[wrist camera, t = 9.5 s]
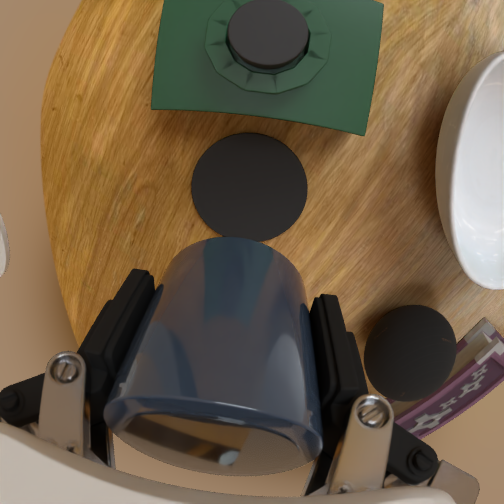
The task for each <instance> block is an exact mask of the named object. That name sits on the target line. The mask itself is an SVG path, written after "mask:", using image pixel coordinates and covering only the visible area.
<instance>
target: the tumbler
mask: <svg viewBox="0 0 504 504" xmlns="http://www.w3.org/2000/svg"><path fill="white" fill-rule="evenodd" d="M103 418H104V421H105V423H106V424H107V426H108V427H109V428H110V430H111V431H112V432H113V433H114V434H115V435H116V436H117V437H119V438H120V439H121V440H122V441H124V442H125V443H127V444H128V445H130V446H131V447H133V448H135V449H136V450H138V451H140V452H141V453H144V454H146V455H148V456H150V457H152V458H154V459H157V460H159V461H162V462H164V463H167V464H170V465H173V466H177V467H180V468H184V469H188V470H192V471H197V472H202V473H208V474H215V475H226V476H259V475H269V474H275V473H280V472H285V471H289V470H292V469H295V468H298V467H301V466H303V465H306V464H307V463H309V462H311V461H313V460H314V459H315V458H317V457H318V456H319V455H320V453H321V452H322V450H323V447H324V437H323V426H322V415H321V405H320V395H319V386H318V377H317V369H316V360H315V352H314V345H313V337H312V330H311V323H310V315H309V309H308V302H307V295H306V289H305V285H304V282H303V280H302V278H301V275H300V273H299V272H298V271H297V269H296V268H295V266H294V265H293V264H292V263H291V262H290V261H289V260H288V259H287V258H286V257H285V256H283V255H282V254H281V253H279V252H278V251H276V250H275V249H273V248H271V247H269V246H267V245H265V244H263V243H260V242H257V241H254V240H250V239H245V238H240V237H216V238H210V239H206V240H202V241H199V242H196V243H194V244H192V245H190V246H188V247H186V248H185V249H183V250H182V251H180V252H179V253H178V254H177V255H176V256H175V257H174V258H173V259H172V261H171V262H170V263H169V265H168V267H167V268H166V270H165V272H164V274H163V276H162V278H161V280H160V282H159V284H158V286H157V288H156V290H155V292H154V294H153V296H152V298H151V300H150V302H149V304H148V306H147V309H146V311H145V313H144V315H143V317H142V319H141V321H140V323H139V325H138V328H137V330H136V332H135V334H134V336H133V339H132V341H131V343H130V345H129V347H128V350H127V352H126V354H125V357H124V359H123V361H122V364H121V366H120V368H119V371H118V373H117V375H116V378H115V380H114V383H113V385H112V387H111V390H110V392H109V395H108V397H107V400H106V402H105V405H104V408H103Z"/></svg>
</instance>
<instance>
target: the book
mask: <svg viewBox="0 0 504 504" xmlns="http://www.w3.org/2000/svg"><path fill="white" fill-rule="evenodd" d="M456 346H457V352H456V359H455V363H454V366H453V369H452V371H451V373H450V375H449V377H448V378H447V380H446V381H445V382H444V384H443V385H442V386H441V387H440V388H439V389H438V390H436V391H435V392H434V393H432V394H431V395H429V396H427V397H425V398H423V399H420V400H417V401H411V402H400V401H395V400H392V399H389V398H387V399H386V400H387V401H388V402H389V403H390V405H391V406H392V409H393V411H394V422H395V423H397V424H398V425H400V426H401V427H403V428H404V429H405V430H407V431H408V432H410V433H411V434H413V435H414V436H415V437H417V438H418V439H422V438H424V437H425V436H427V435H429V434H431V433H432V432H434V431H435V430H437V429H439V428H440V427H442V426H444V425H445V424H447V423H448V422H450V421H451V420H453V419H454V418H456V417H457V416H459V415H460V414H461V413H463V412H464V411H466V410H467V409H468V408H470V407H471V406H473V405H474V404H475V403H477V402H478V401H479V400H480V399H482V398H483V397H484V396H486V395H487V394H488V393H489V392H491V391H492V390H493V389H494V388H495V387H497V386H498V385H499V384H500V383H501V382H502V381H504V338H503V337H502V336H501V335H500V334H499V333H498V332H497V331H496V330H495V328H494V327H493V326H492V325H491V324H490V323H489V321H488V320H487V319H486V318H485V317H484V318H483V319H482V320H481V321H480V322H479V323H478V324H477V325H476V326H475V327H474V328H473V329H472V330H471V331H470V332H469V333H468V334H467V335H466V336H464V338H463V339H462V340H461V341H460V342H459V343H458V344H457V345H456Z"/></svg>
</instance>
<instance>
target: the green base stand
mask: <svg viewBox="0 0 504 504" xmlns="http://www.w3.org/2000/svg"><path fill="white" fill-rule="evenodd" d="M250 1H253V0H164V4H163V9H162V15H161V21H160V27H159V34H158V41H157V49H156V57H155V66H154V75H153V87H152V99H151V110H185V111H205V112H219V113H231V114H241V115H250V116H258V117H266V118H273V119H280V120H286V121H293V122H299V123H304V124H310V125H315V126H320V127H325V128H330V129H334V130H339V131H343V132H348V133H352V134H356V135H360V136H365V132H366V127H367V122H368V117H369V112H370V106H371V101H372V95H373V89H374V83H375V76H376V70H377V63H378V55H379V48H380V39H381V30H382V20H383V9H384V4H382V3H379V2H376V1H373V0H282V1H285V2H287V3H289V4H291V5H292V6H294V7H295V8H296V9H298V10H299V11H300V13H301V14H302V15H303V17H304V18H305V20H306V22H307V25H308V31H309V34H308V41H307V43H306V46H305V48H304V49H303V51H302V52H301V53H300V54H299V56H298V57H297V58H296V59H295V60H294V61H292V62H291V63H290V64H288V65H286V66H283V67H280V68H276V69H261V68H257V67H254V66H252V65H249V64H248V63H246V62H245V61H243V60H242V59H241V58H240V57H239V56H238V55H237V53H236V52H235V50H234V49H233V48H232V46H231V44H230V42H229V38H228V24H229V21H230V19H231V17H232V15H233V14H234V13H235V11H236V10H237V9H238V8H240V7H241V6H242V5H244V4H246V3H247V2H250Z"/></svg>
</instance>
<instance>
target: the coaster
mask: <svg viewBox="0 0 504 504" xmlns="http://www.w3.org/2000/svg"><path fill="white" fill-rule="evenodd" d="M191 186H192V197H193V201H194V204H195V207H196V209H197V211H198V213H199V215H200V216H201V218H202V219H203V220H204V221H205V223H206V224H207V225H208V226H209V227H210V228H212V229H213V230H214V231H216V232H217V233H219V234H220V235H222V236H224V237H240V238H245V239H250V240H254V241H257V242H260V241H265V240H269V239H272V238H274V237H276V236H278V235H280V234H282V233H283V232H285V231H286V230H288V229H289V228H290V227H291V226H292V225H293V224H294V223H295V222H296V220H297V219H298V218H299V216H300V214H301V213H302V211H303V208H304V206H305V202H306V199H307V179H306V175H305V172H304V169H303V167H302V165H301V163H300V161H299V159H298V158H297V156H296V155H295V154H294V153H293V152H292V150H290V149H289V148H288V147H287V146H286V145H285V144H283V143H282V142H280V141H278V140H276V139H274V138H272V137H270V136H267V135H263V134H258V133H239V134H234V135H231V136H228V137H225V138H223V139H221V140H219V141H218V142H216V143H215V144H213V145H212V146H211V147H210V148H209V149H208V150H207V151H205V153H204V154H203V155H202V156H201V158H200V159H199V161H198V163H197V165H196V167H195V170H194V173H193V177H192V184H191Z"/></svg>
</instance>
